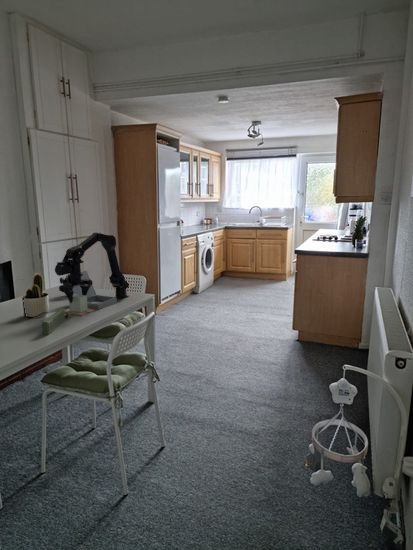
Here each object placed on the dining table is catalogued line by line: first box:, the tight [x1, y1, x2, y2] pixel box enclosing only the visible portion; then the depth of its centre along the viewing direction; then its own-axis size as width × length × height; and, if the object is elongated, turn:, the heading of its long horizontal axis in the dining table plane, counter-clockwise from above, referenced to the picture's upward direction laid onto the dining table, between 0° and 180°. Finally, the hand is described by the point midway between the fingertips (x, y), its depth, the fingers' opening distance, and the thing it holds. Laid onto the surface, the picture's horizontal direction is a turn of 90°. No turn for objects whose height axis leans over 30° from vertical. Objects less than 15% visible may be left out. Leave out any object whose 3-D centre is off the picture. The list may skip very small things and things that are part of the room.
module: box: [68, 294, 88, 312], centre depth 199 cm, size 5×8×8 cm, turn 64°
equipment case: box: [65, 270, 118, 311], centre depth 213 cm, size 16×23×17 cm
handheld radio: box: [41, 307, 70, 336], centre depth 178 cm, size 7×3×25 cm
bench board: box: [64, 308, 97, 317], centre depth 200 cm, size 11×15×1 cm
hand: (77, 300), depth 199 cm, fingers open, 9 cm apart
